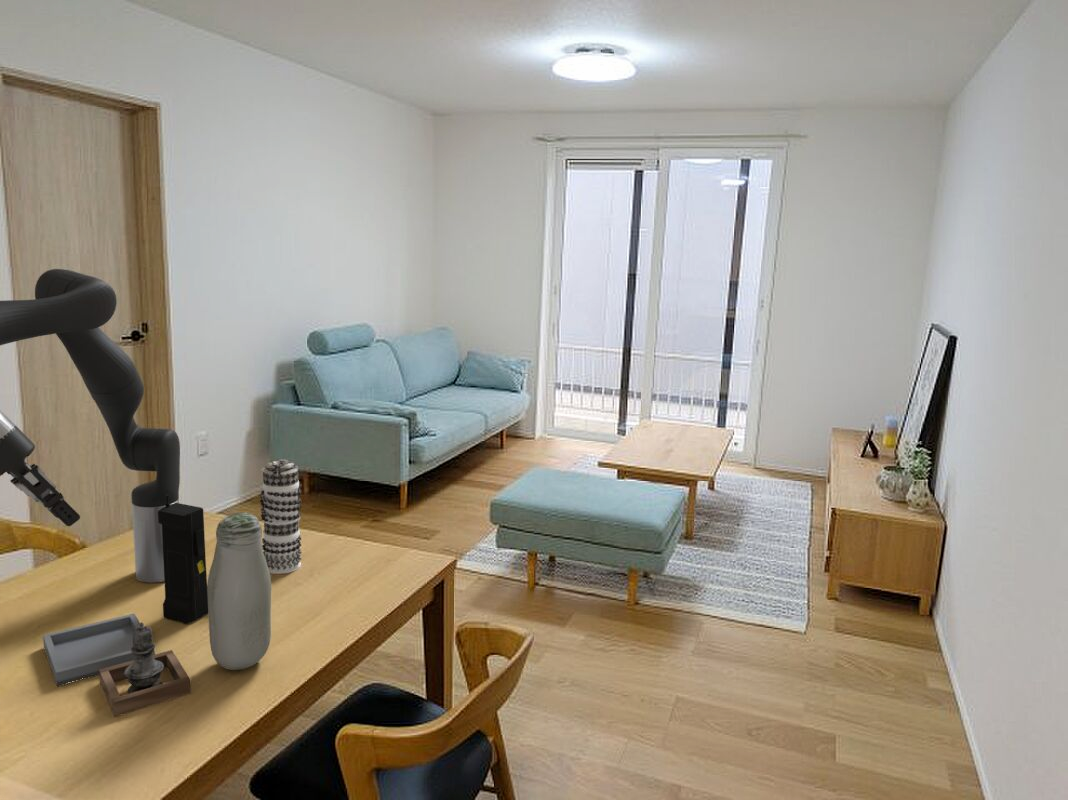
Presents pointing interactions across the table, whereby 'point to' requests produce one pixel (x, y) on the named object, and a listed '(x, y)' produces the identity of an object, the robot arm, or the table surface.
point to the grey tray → (90, 648)
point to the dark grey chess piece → (143, 662)
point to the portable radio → (184, 562)
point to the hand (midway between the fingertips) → (69, 517)
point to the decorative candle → (281, 516)
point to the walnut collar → (145, 696)
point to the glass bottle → (239, 594)
